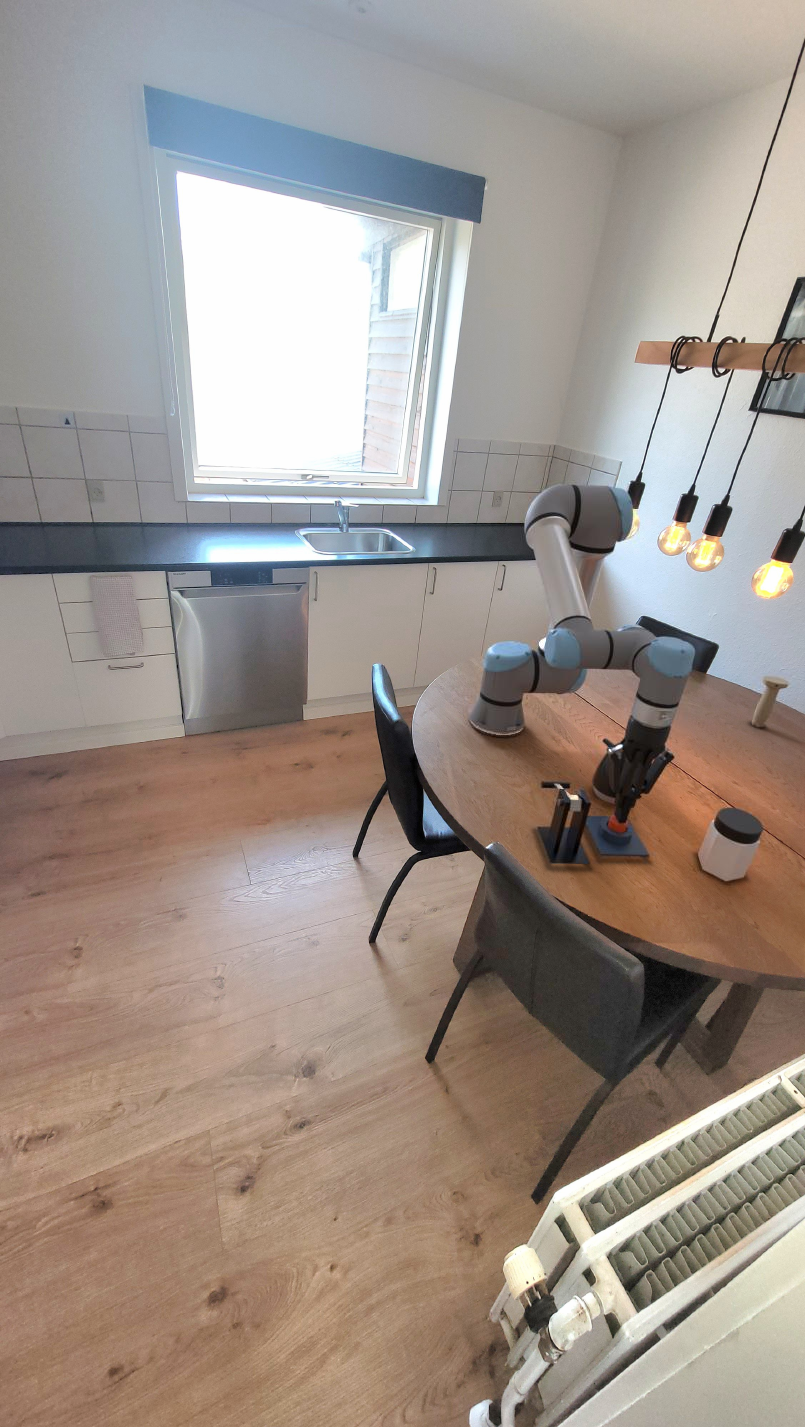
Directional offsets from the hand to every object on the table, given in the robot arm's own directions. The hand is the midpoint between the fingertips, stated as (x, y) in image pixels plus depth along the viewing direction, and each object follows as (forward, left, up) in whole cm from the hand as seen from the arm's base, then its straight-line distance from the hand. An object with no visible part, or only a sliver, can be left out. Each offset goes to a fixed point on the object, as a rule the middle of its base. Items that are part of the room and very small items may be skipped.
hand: (619, 818), depth 121 cm
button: (0, 0, -3) cm, 3 cm away
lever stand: (+3, -12, -6) cm, 14 cm away
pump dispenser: (-15, +5, -6) cm, 17 cm away
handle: (-53, +64, -6) cm, 83 cm away
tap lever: (-2, -12, +3) cm, 13 cm away
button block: (0, 0, -6) cm, 6 cm away
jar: (+7, +20, -6) cm, 22 cm away
